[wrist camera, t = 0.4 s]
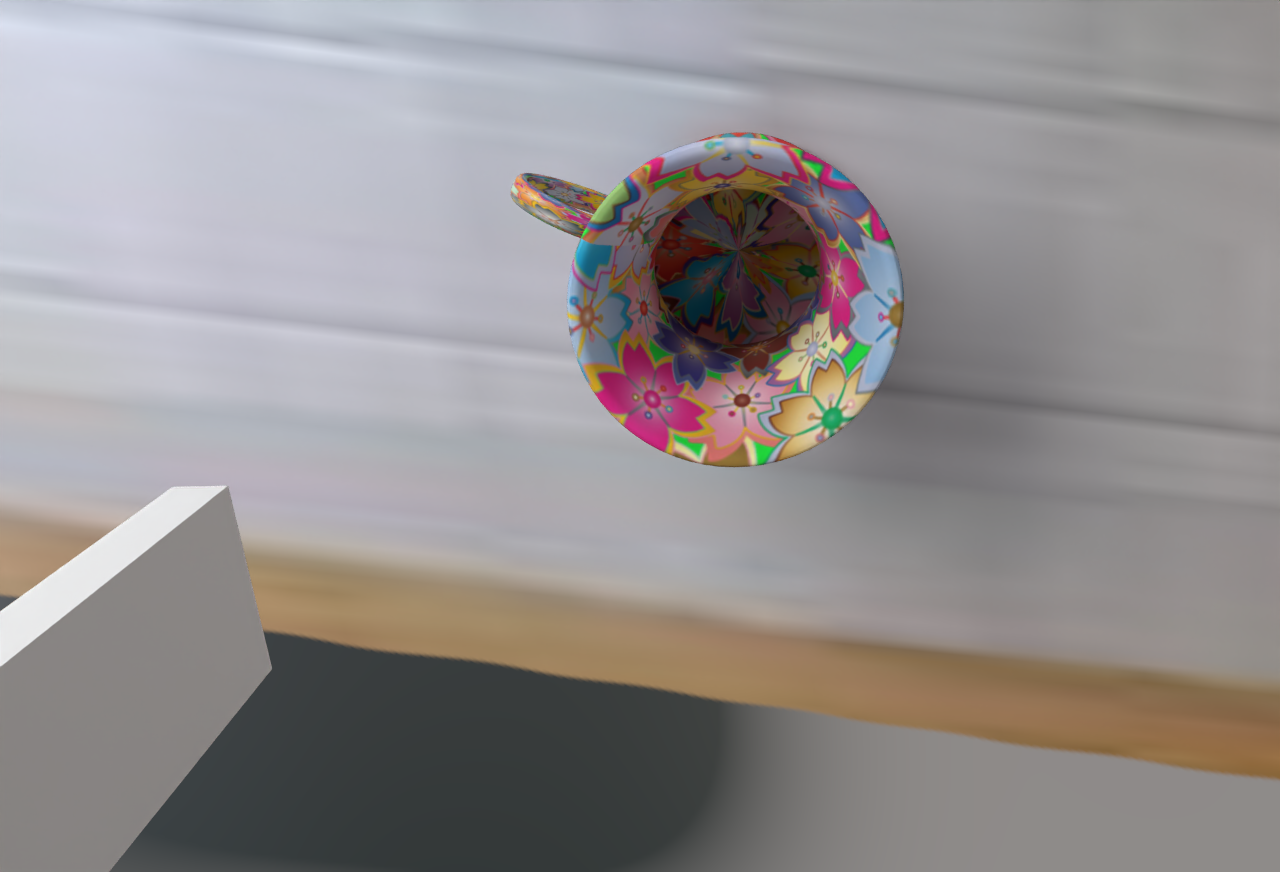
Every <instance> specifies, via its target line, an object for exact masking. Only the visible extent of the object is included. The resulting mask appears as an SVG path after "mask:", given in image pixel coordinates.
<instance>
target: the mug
mask: <svg viewBox="0 0 1280 872" xmlns="http://www.w3.org/2000/svg"><path fill="white" fill-rule="evenodd" d="M511 197H512V199H513V201H514V202H515V203H516V204H517V205H518V206H519V207H521V208H522V209H523V210H525V211H526V212H528V213H529V214H531V215H533V216H534V217H536V218H538V219H540V220H541V221H543V222H545V223H547V224H549V225H551V226H553V227H555V228H557V229H560V230H562V231H564V232H567V233H569V234H571V235H574V236H577V237H579V238H581V239H580V242H579V244H578V247H577V250H576V252H575V255H574V259H573V263H572V266H571V271H570V277H569V283H568V295H567V314H568V323H569V331H570V336H571V340H572V345H573V348H574V351H575V354H576V357H577V360H578V363H579V365H580V367H581V370H582V372H583V374H584V376H585V378H586V380H587V382H588V383H589V385H590V387H591V389H592V390H593V392H594V393H595V395H596V396H597V397H598V399H599V400H600V402H601V403H602V404H603V405H604V407H605V408H606V409H607V410H608V411H609V412H610V414H611V415H612V416H613V417H614V418H615V419H616V420H617V421H619V422H620V423H621V424H622V425H623V426H624V427H625V428H627V429H628V430H629V431H630V432H631V433H633V434H634V435H635V436H637V437H638V438H640V439H641V440H643V441H644V442H646V443H648V444H649V445H651V446H653V447H655V448H657V449H659V450H661V451H663V452H665V453H668V454H670V455H672V456H675V457H678V458H681V459H684V460H687V461H691V462H695V463H700V464H704V465H712V466H719V467H748V466H757V465H764V464H769V463H773V462H777V461H781V460H784V459H787V458H790V457H793V456H796V455H798V454H801V453H803V452H805V451H808V450H810V449H812V448H814V447H815V446H817V445H819V444H821V443H823V442H824V441H826V440H827V439H829V438H830V437H832V436H833V435H835V434H836V433H838V432H839V431H840V430H841V429H842V428H844V427H845V426H846V425H847V424H848V423H850V422H851V421H852V420H853V419H854V418H855V417H856V416H857V415H858V414H859V413H860V412H861V411H862V409H863V408H864V407H865V406H866V404H867V403H868V402H869V401H870V400H871V398H872V397H873V395H874V394H875V392H876V391H877V389H878V388H879V386H880V385H881V383H882V381H883V379H884V377H885V376H886V374H887V372H888V370H889V367H890V365H891V362H892V360H893V358H894V355H895V352H896V348H897V345H898V342H899V338H900V333H901V328H902V320H903V310H904V291H903V282H902V274H901V269H900V265H899V260H898V257H897V254H896V251H895V247H894V244H893V242H892V240H891V237H890V235H889V233H888V231H887V228H886V226H885V225H884V223H883V221H882V220H881V218H880V216H879V214H878V213H877V211H876V210H875V209H874V207H873V206H872V204H871V203H870V202H869V200H868V199H867V198H866V197H865V196H864V194H863V193H862V192H861V191H860V190H859V189H858V188H857V187H856V186H855V185H854V184H853V183H852V182H851V181H850V180H849V179H848V178H846V177H845V176H844V175H843V174H842V173H840V172H839V171H838V170H836V169H835V168H833V167H832V166H831V165H829V164H828V163H826V162H824V161H822V160H821V159H819V158H817V157H816V156H814V155H812V154H809V153H807V152H805V151H804V150H802V149H800V148H798V147H797V146H795V145H793V144H791V143H788V142H786V141H784V140H781V139H778V138H775V137H772V136H767V135H763V134H756V133H728V134H721V135H716V136H712V137H709V138H705V139H702V140H700V141H697V142H694V143H691V144H688V145H685V146H681V147H678V148H676V149H673V150H671V151H669V152H666V153H664V154H662V155H660V156H658V157H656V158H654V159H653V160H651V161H649V162H647V163H646V164H644V165H643V166H641V167H640V168H638V169H637V170H635V171H634V172H633V173H631V174H630V175H629V176H628V177H627V178H626V179H624V180H623V181H622V182H621V183H620V184H619V185H618V186H617V187H616V188H615V189H614V190H613V191H612V192H611V193H610V194H609V195H605V194H603V193H600V192H597V191H595V190H592V189H589V188H586V187H583V186H580V185H577V184H574V183H570V182H567V181H564V180H560V179H556V178H552V177H548V176H544V175H539V174H532V173H524V174H520V175H519V176H517V178H516V179H515V181H514V183H513V185H512V188H511ZM570 206H571V207H570ZM573 207H574V208H573ZM575 208H577V209H580V210H583V211H586V212H589V213H592V214H594V215H590V214H587V213H585V212H582V211H580V210H577V209H575Z"/></svg>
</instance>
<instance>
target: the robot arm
mask: <svg viewBox="0 0 1280 872" xmlns="http://www.w3.org/2000/svg"><path fill="white" fill-rule="evenodd" d="M271 669H272V667H271V663H270V658H269V654H268V650H267V646H266V642H265V638H264V633H263V629H262V625H261V621H260V617H259V613H258V608H257V604H256V600H255V596H254V592H253V588H252V583H251V579H250V575H249V571H248V567H247V563H246V558H245V554H244V550H243V546H242V542H241V538H240V533H239V529H238V525H237V521H236V517H235V513H234V509H233V504H232V500H231V496H230V492H229V488H228V486H194V487H172V488H170V489H169V490H168V491H166V492H165V493H164V494H162V495H161V496H159V497H158V498H157V499H155V500H154V501H152V502H151V503H150V504H148V505H147V506H146V507H144V508H143V509H141V510H140V511H139V512H137V513H136V514H134V515H133V516H132V517H130V518H129V519H128V520H126V521H125V522H123V523H122V524H121V525H119V526H118V527H116V528H115V529H114V530H112V531H111V532H110V533H108V534H107V535H105V536H104V537H103V538H101V539H100V540H98V541H97V542H96V543H94V544H93V545H92V546H90V547H89V548H87V549H86V550H85V551H83V552H82V553H80V554H79V555H78V556H76V557H75V558H74V559H72V560H71V561H69V562H68V563H67V564H65V565H64V566H62V567H61V568H60V569H58V570H57V571H56V572H54V573H53V574H51V575H50V576H49V577H47V578H46V579H44V580H43V581H42V582H40V583H39V584H38V585H36V586H35V587H33V588H32V589H31V590H29V591H28V592H26V593H25V594H24V595H22V596H21V597H20V598H18V599H17V600H15V601H14V602H13V603H11V604H10V605H8V606H7V607H6V608H4V609H3V610H2V611H0V872H109V871H110V870H111V868H112V867H113V866H114V865H115V864H116V862H117V861H118V860H119V859H120V857H121V856H122V855H123V854H124V852H125V851H126V850H127V849H128V847H129V846H130V845H131V844H132V842H133V841H134V840H135V839H136V837H137V836H138V835H139V834H140V832H141V831H142V830H143V828H144V827H145V826H146V825H147V824H148V822H149V821H150V820H151V819H152V817H153V816H154V815H155V814H156V813H157V811H158V810H159V809H160V807H161V806H162V805H163V804H164V803H165V801H166V800H167V799H168V798H169V796H170V795H171V794H172V793H173V791H174V790H175V789H176V787H177V786H178V785H179V784H180V782H181V781H182V780H183V779H184V778H185V776H186V775H187V774H188V773H189V771H190V770H191V769H192V768H193V766H194V765H195V764H196V763H197V761H198V760H199V759H200V758H201V756H202V755H203V754H204V753H205V751H206V750H207V749H208V748H209V746H210V745H211V743H213V742H214V740H215V739H216V737H218V735H219V734H220V733H221V732H222V730H223V729H224V728H225V727H226V725H227V724H228V723H229V722H230V720H231V719H232V717H233V716H234V715H235V714H236V713H237V712H238V710H239V709H240V708H241V707H242V705H243V704H244V703H245V702H246V700H247V699H248V698H249V697H250V695H251V694H252V693H253V692H254V690H255V689H256V688H257V687H258V685H259V684H260V683H261V682H262V680H263V679H264V678H265V677H266V675H267V674H268V673H269V672H270V671H271Z"/></svg>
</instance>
